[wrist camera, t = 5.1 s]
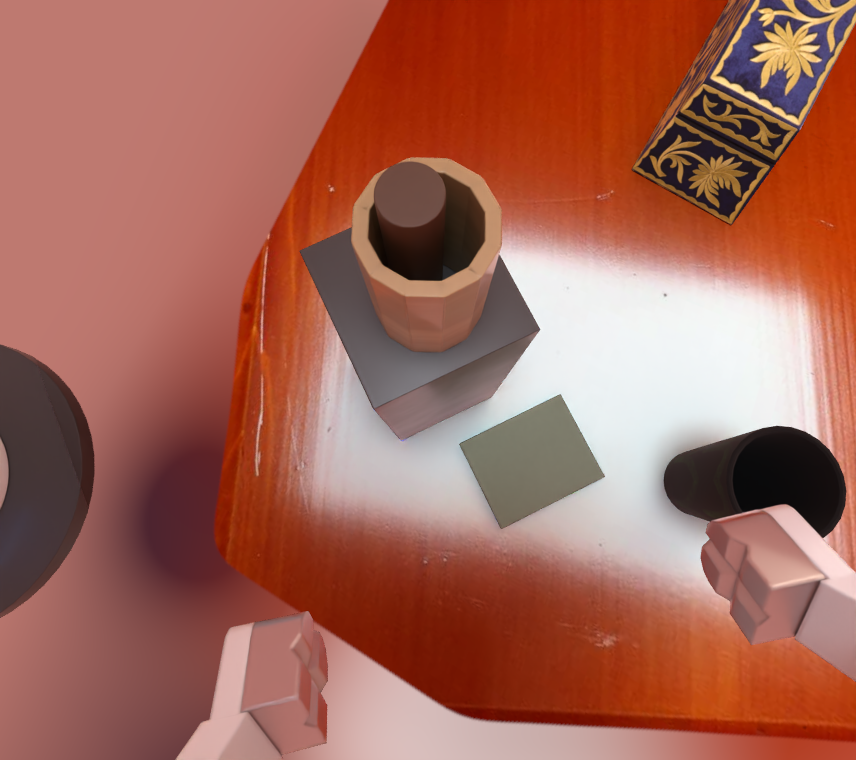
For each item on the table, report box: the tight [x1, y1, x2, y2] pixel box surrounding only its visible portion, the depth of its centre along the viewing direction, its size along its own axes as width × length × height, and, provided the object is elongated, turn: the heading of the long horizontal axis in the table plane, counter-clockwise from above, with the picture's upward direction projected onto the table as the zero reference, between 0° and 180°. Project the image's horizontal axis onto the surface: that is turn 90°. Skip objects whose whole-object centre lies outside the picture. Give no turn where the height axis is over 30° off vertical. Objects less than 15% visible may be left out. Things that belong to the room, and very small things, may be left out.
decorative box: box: [632, 0, 856, 225], centre depth 49 cm, size 11×30×9 cm, turn 149°
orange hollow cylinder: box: [351, 158, 502, 352], centre depth 22 cm, size 5×5×8 cm
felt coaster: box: [460, 395, 604, 529], centre depth 46 cm, size 10×8×1 cm
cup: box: [664, 426, 846, 538], centre depth 40 cm, size 8×8×12 cm
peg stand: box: [300, 161, 540, 441], centre depth 33 cm, size 9×9×31 cm
